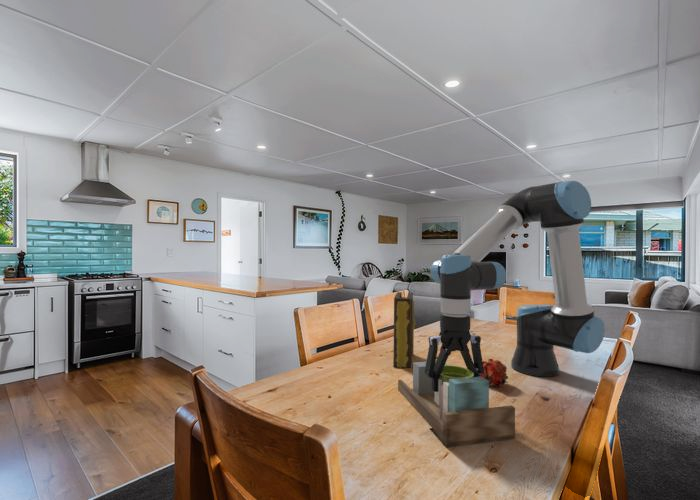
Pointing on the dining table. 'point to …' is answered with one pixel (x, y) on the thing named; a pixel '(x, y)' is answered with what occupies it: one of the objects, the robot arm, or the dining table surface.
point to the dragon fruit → (494, 372)
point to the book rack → (463, 412)
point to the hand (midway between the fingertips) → (454, 401)
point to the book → (403, 330)
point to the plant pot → (455, 373)
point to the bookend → (421, 379)
